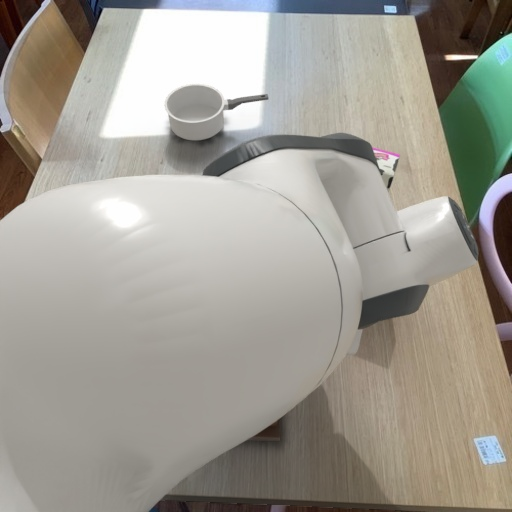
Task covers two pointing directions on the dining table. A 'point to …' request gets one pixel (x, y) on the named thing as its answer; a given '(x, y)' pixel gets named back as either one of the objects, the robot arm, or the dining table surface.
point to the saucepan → (200, 110)
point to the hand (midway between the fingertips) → (255, 311)
